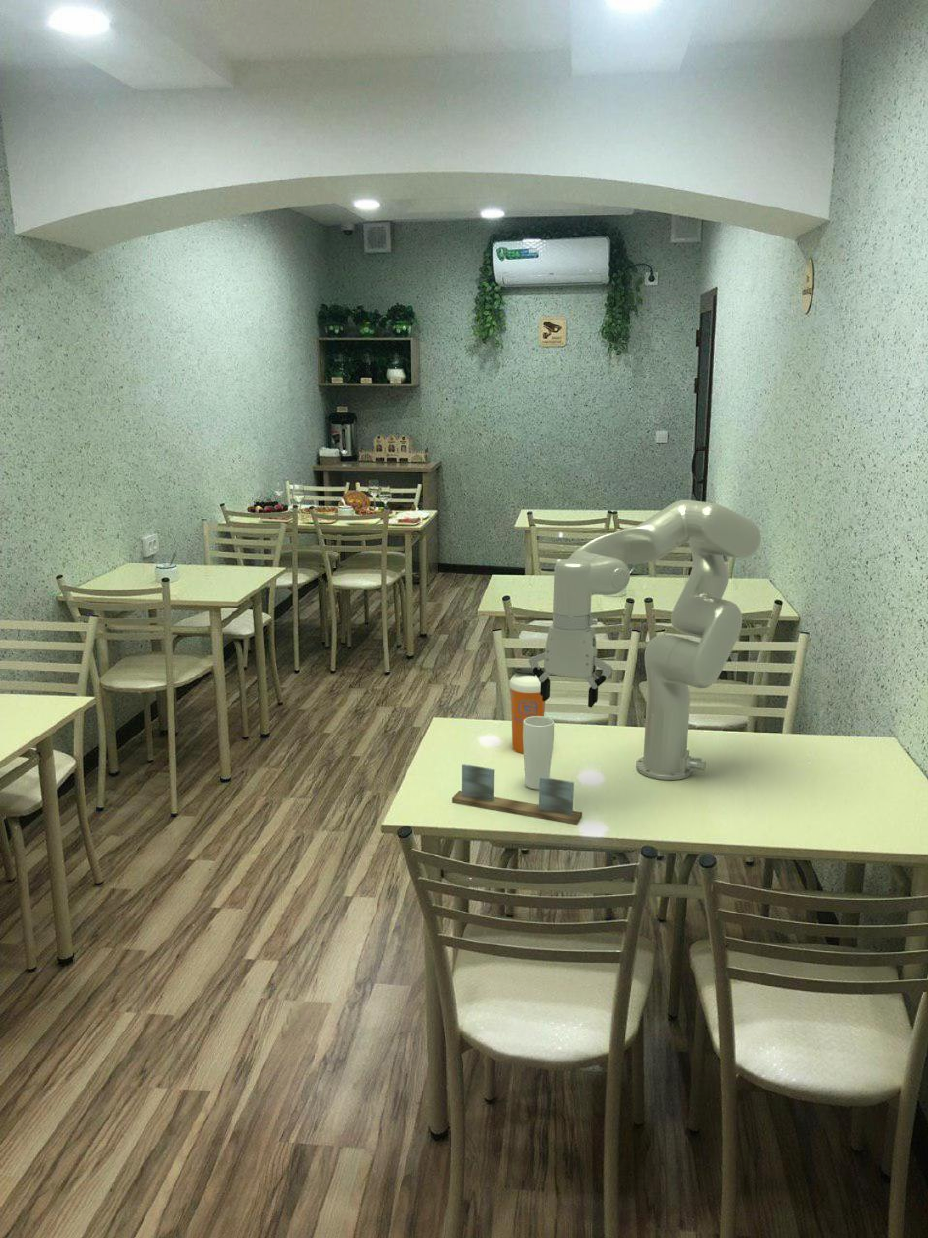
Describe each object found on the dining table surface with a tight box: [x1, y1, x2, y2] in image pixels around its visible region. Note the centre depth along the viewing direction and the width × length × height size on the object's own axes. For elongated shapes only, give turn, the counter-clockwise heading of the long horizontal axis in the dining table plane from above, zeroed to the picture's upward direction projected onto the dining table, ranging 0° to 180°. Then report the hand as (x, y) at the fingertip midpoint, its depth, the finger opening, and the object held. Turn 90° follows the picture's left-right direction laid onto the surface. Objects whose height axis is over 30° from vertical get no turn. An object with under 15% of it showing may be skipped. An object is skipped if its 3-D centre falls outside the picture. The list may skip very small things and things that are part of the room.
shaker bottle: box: [509, 667, 546, 755], centre depth 225 cm, size 9×9×20 cm
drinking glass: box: [523, 716, 555, 791], centre depth 204 cm, size 7×7×15 cm
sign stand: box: [451, 763, 583, 826], centre depth 193 cm, size 27×4×8 cm, turn 68°
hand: (568, 702), depth 192 cm, fingers open, 9 cm apart
